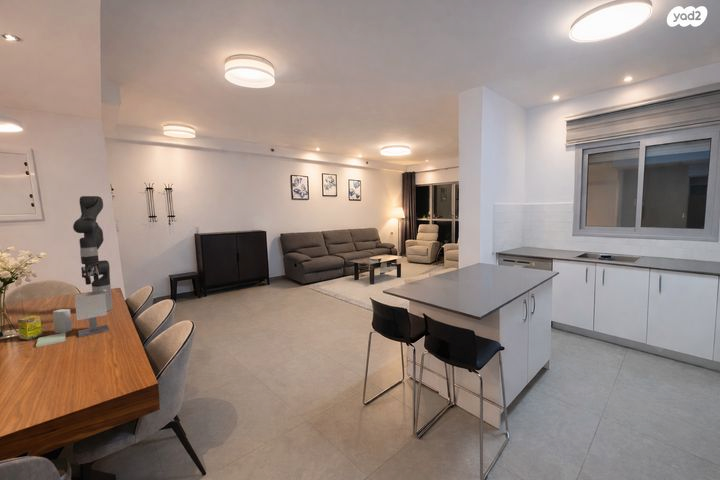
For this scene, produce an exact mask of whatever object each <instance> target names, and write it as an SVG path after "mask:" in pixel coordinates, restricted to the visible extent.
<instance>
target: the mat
mask: <svg viewBox="0 0 720 480" xmlns="http://www.w3.org/2000/svg"><path fill="white" fill-rule="evenodd" d="M66 336H67V332H65V333H55V334H51V335H47V336H41V337H38V338H37V341H36V344H35V347H36V348H41V347H44V346H49V345H54V344H59V343H63V342H66V338H67V337H66Z"/></svg>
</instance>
